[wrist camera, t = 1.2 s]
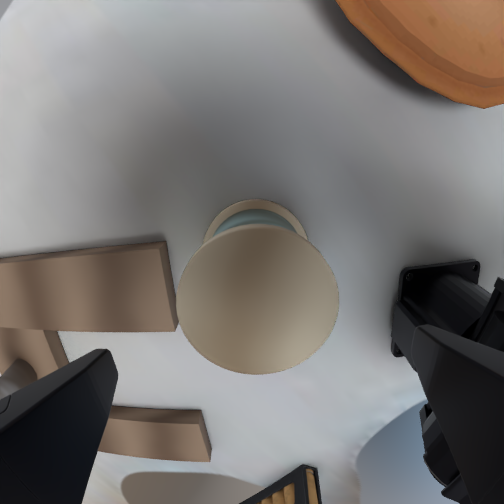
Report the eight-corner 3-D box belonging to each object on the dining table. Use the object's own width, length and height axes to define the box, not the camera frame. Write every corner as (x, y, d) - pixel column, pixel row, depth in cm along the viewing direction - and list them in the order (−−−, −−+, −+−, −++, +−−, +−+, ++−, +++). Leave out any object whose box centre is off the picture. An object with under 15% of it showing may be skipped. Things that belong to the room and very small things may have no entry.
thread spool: (304, 195, 17) (339, 222, 10) (308, 293, 19) (335, 366, 12) (198, 204, 17) (163, 236, 10) (210, 301, 19) (191, 377, 12)
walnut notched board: (166, 241, 18) (125, 285, 12) (211, 448, 23) (204, 510, 17) (-28, 261, 18) (-81, 291, 12) (43, 427, 23) (17, 470, 17)
